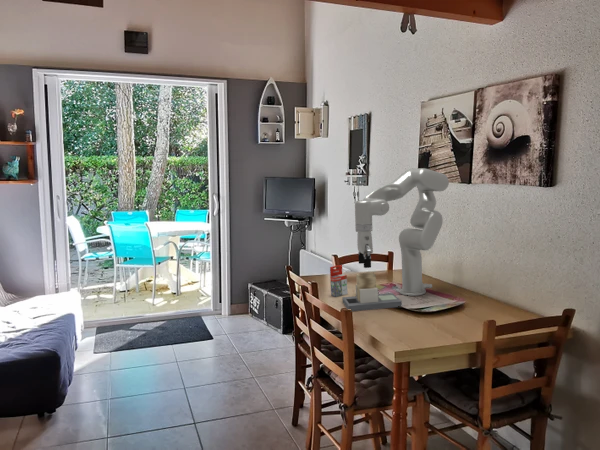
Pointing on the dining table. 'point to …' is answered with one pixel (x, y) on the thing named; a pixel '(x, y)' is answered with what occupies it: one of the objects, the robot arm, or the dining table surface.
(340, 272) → the ink box
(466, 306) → the dining table surface
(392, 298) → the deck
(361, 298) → the pale grey u-shaped piece
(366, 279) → the block
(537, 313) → the dining table surface
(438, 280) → the dining table surface
